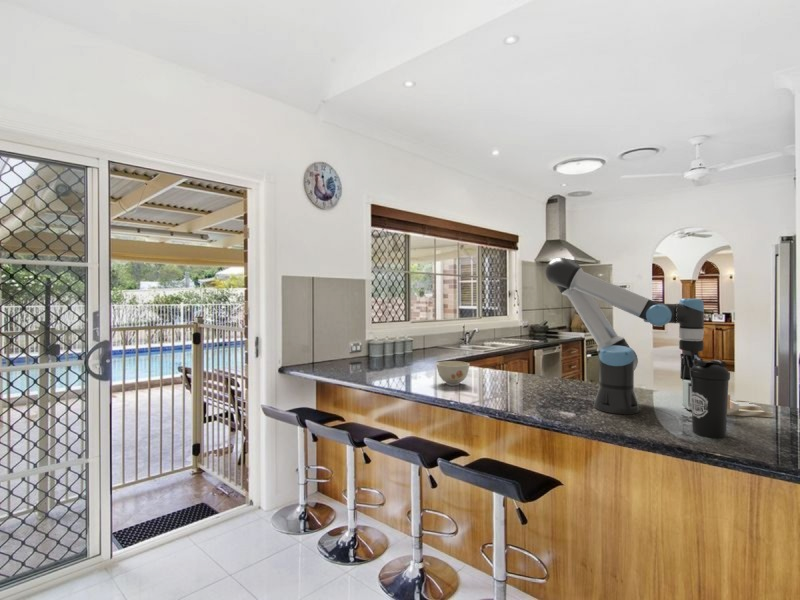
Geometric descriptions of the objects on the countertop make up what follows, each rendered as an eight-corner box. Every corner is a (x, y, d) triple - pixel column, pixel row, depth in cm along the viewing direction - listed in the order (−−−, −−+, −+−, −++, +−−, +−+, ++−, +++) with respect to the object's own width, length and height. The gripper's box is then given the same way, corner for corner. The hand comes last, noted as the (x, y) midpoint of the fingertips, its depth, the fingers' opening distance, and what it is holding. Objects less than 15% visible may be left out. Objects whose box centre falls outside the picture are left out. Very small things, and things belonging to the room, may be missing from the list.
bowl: (435, 387, 200) (435, 366, 199) (437, 380, 215) (437, 360, 215) (469, 388, 197) (469, 366, 197) (469, 381, 213) (469, 361, 212)
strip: (688, 409, 157) (688, 382, 157) (682, 405, 163) (682, 379, 163) (738, 412, 153) (739, 384, 153) (730, 408, 159) (730, 381, 159)
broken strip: (709, 406, 162) (709, 403, 162) (702, 402, 168) (702, 399, 168) (759, 409, 159) (759, 406, 158) (750, 404, 164) (750, 402, 164)
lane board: (705, 413, 155) (705, 408, 155) (687, 402, 171) (687, 398, 170) (773, 417, 150) (773, 412, 150) (748, 405, 165) (748, 401, 165)
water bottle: (681, 429, 138) (682, 358, 137) (711, 428, 139) (711, 357, 138) (706, 439, 128) (707, 363, 127) (738, 438, 128) (739, 363, 128)
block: (714, 408, 156) (714, 394, 156) (708, 404, 160) (708, 391, 160) (730, 408, 154) (730, 395, 154) (723, 405, 159) (723, 392, 159)
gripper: (714, 342, 149) (713, 408, 150) (692, 337, 167) (691, 395, 168) (690, 342, 151) (689, 407, 152) (670, 336, 169) (670, 394, 170)
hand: (690, 401), depth 160 cm, fingers open, 6 cm apart
